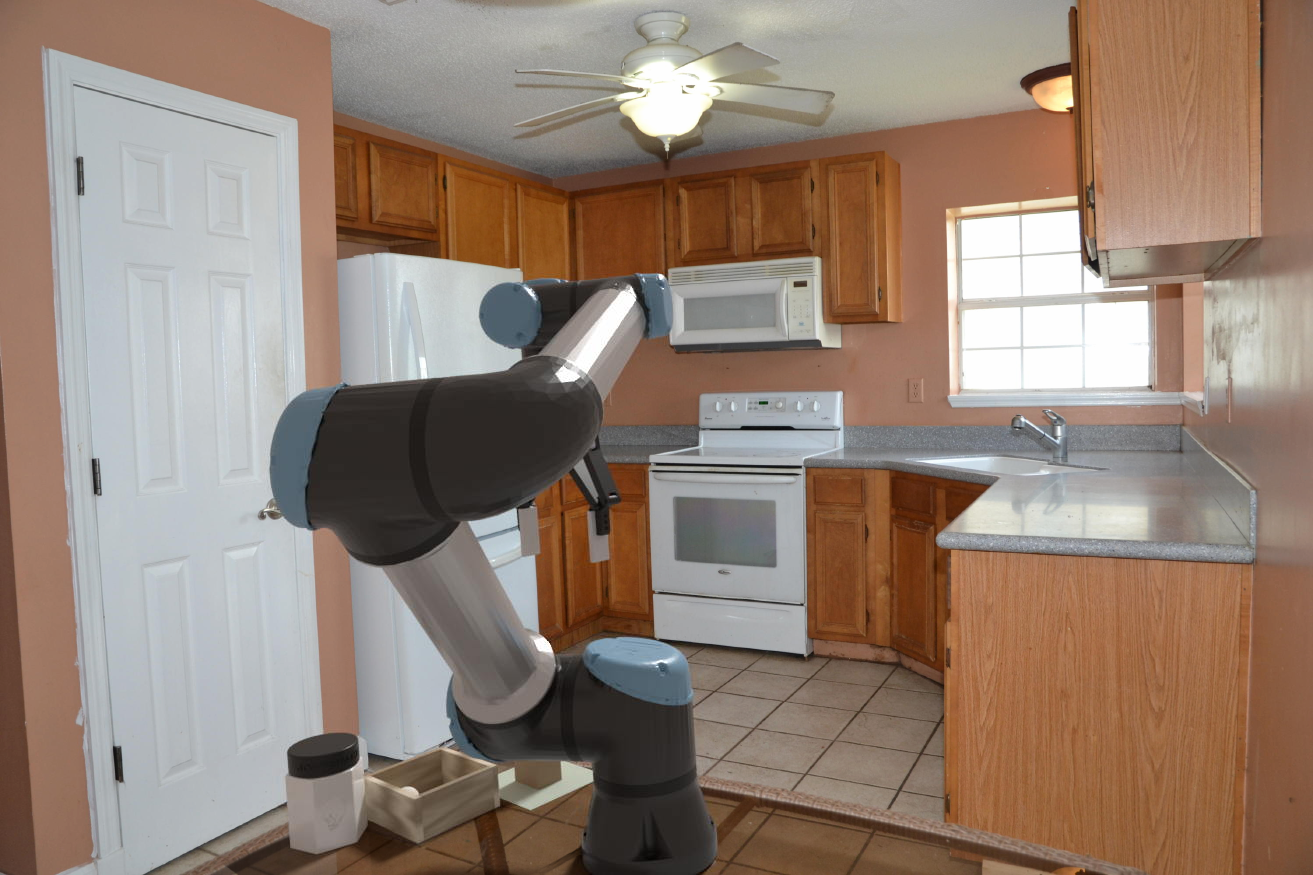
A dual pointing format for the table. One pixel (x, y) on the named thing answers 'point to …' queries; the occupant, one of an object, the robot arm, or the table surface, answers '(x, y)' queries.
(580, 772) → the lid
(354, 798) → the jar
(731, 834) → the table surface
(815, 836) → the table surface
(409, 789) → the ball
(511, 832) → the table surface
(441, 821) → the box
